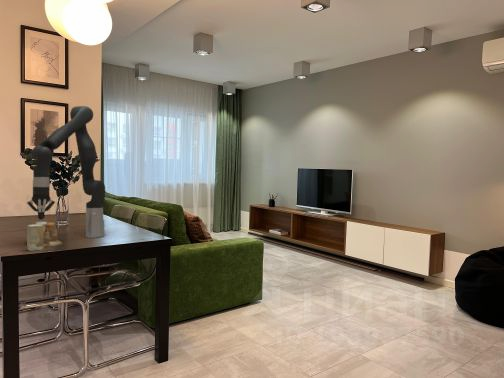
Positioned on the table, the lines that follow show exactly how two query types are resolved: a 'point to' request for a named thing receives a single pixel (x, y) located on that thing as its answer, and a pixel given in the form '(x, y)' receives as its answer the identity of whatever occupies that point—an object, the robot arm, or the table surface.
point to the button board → (50, 238)
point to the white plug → (42, 224)
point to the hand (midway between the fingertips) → (41, 219)
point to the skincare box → (35, 237)
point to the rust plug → (49, 226)
